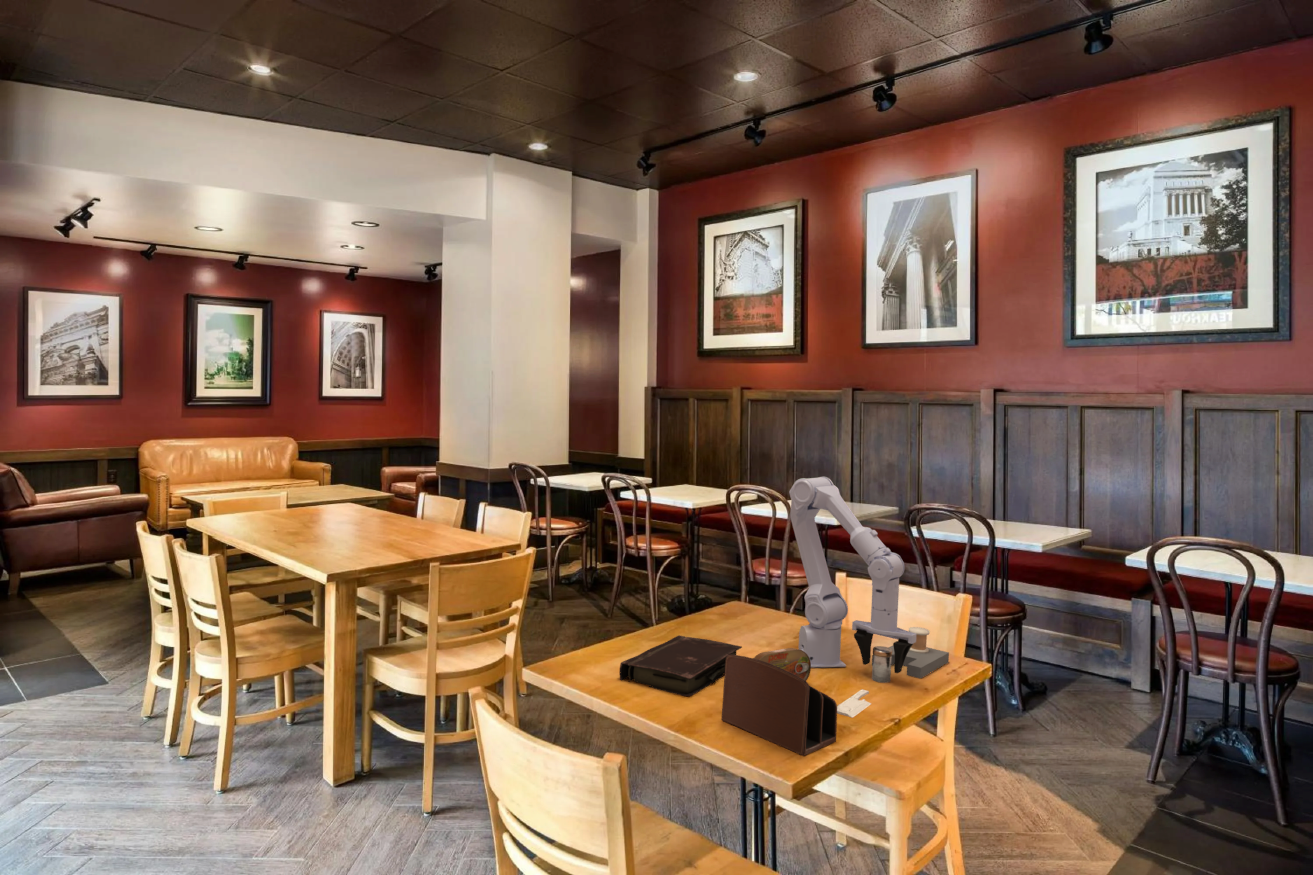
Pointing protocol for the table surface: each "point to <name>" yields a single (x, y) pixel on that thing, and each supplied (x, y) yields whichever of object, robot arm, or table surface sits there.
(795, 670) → the tin
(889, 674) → the peg
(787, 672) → the letter holder
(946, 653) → the notched board
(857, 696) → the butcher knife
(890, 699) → the table surface
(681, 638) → the diary
